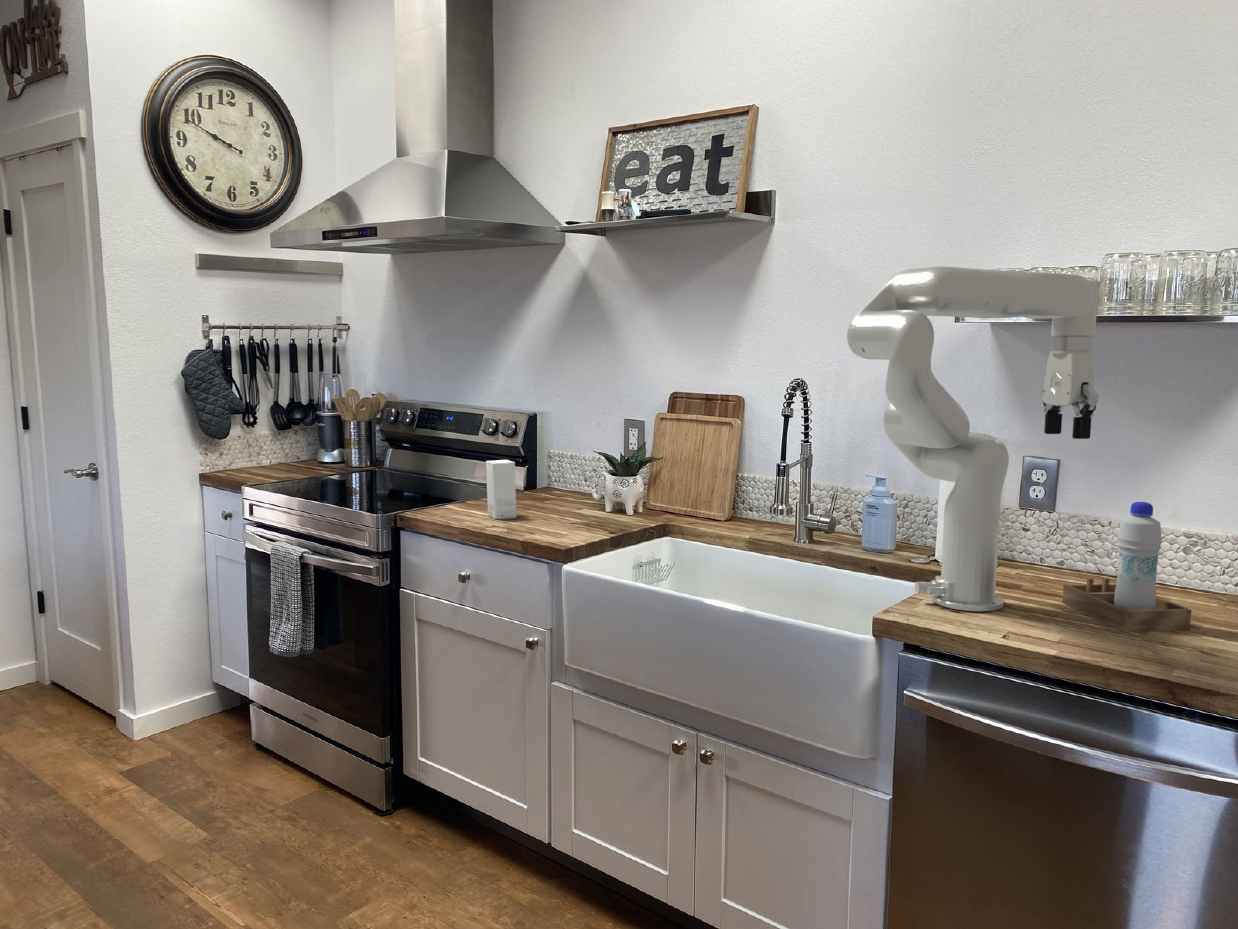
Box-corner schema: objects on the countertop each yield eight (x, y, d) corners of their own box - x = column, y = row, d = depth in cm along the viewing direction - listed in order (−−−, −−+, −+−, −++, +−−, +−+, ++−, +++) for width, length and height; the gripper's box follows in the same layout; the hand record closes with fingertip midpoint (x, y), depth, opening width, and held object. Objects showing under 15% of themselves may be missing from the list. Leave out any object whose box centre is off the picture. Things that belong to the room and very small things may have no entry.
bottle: (1116, 608, 168) (1124, 497, 165) (1159, 614, 164) (1168, 501, 161) (1107, 616, 163) (1116, 502, 160) (1151, 623, 158) (1160, 506, 156)
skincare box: (516, 518, 257) (516, 462, 256) (493, 520, 255) (492, 463, 253) (508, 513, 265) (508, 458, 263) (485, 515, 263) (485, 459, 261)
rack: (1122, 631, 157) (1124, 600, 156) (1062, 602, 175) (1064, 574, 174) (1189, 630, 158) (1192, 599, 157) (1123, 601, 176) (1125, 573, 175)
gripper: (1029, 346, 186) (1024, 432, 189) (1079, 346, 169) (1073, 440, 171) (1065, 346, 187) (1060, 432, 189) (1119, 346, 170) (1112, 440, 172)
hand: (1066, 436), depth 180 cm, fingers open, 9 cm apart
